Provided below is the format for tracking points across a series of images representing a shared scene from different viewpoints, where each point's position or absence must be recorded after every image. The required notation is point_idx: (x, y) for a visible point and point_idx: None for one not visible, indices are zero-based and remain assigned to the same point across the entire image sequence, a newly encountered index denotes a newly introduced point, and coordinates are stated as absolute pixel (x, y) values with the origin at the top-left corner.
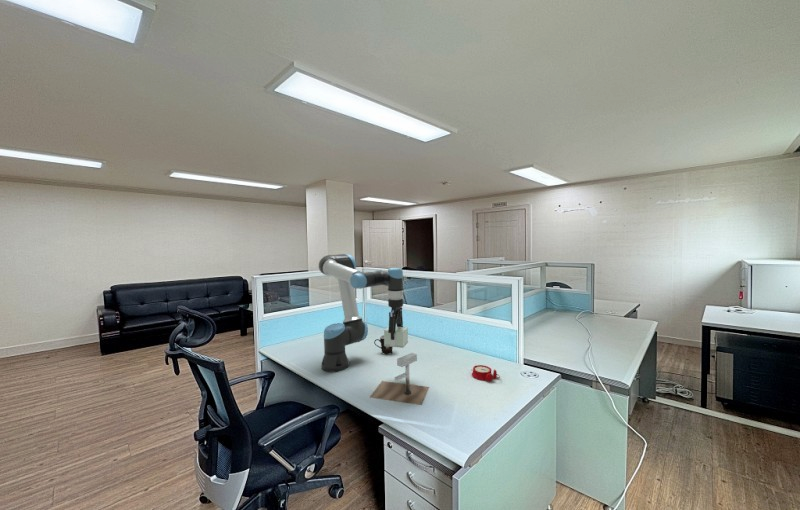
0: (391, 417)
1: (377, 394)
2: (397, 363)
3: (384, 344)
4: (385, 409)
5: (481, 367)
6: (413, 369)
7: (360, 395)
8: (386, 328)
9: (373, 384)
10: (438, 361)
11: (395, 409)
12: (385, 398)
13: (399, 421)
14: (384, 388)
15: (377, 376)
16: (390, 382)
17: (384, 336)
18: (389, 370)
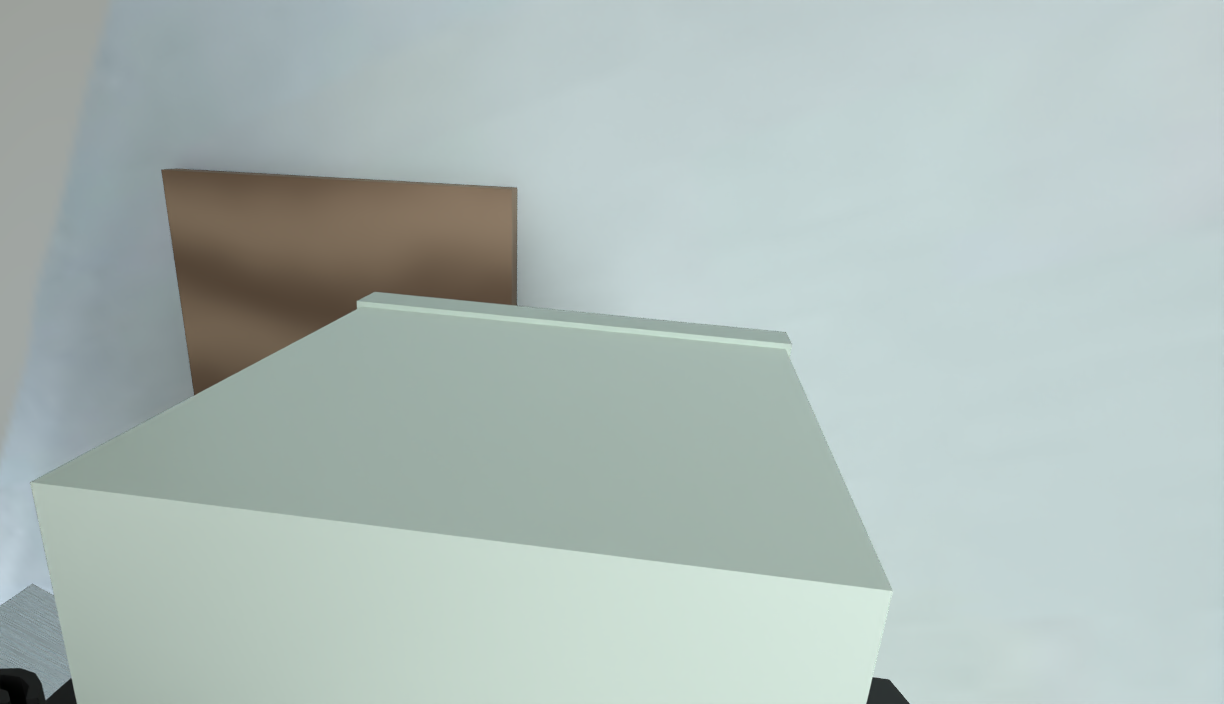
0: (34, 419)
1: (233, 230)
2: (3, 607)
3: (363, 311)
4: (101, 351)
5: None
6: (911, 447)
7: (205, 46)
8: (336, 535)
9: (457, 99)
10: (1163, 674)
11: (134, 424)
12: (199, 323)
13: (20, 480)
14: (362, 262)
15: (658, 76)
16: (499, 289)
17: (241, 384)
18: (852, 177)
